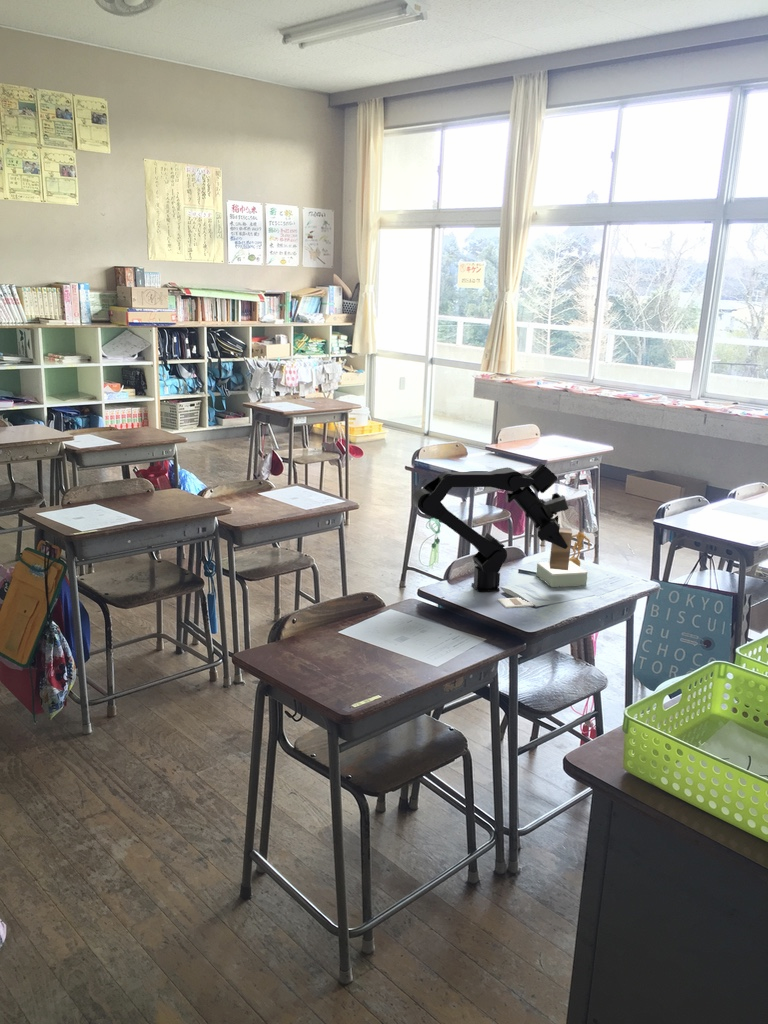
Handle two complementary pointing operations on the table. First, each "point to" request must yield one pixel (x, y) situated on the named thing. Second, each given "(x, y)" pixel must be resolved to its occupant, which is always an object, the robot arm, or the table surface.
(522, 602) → the card
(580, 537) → the figurine
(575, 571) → the base block
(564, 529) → the walnut block
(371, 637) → the table surface
